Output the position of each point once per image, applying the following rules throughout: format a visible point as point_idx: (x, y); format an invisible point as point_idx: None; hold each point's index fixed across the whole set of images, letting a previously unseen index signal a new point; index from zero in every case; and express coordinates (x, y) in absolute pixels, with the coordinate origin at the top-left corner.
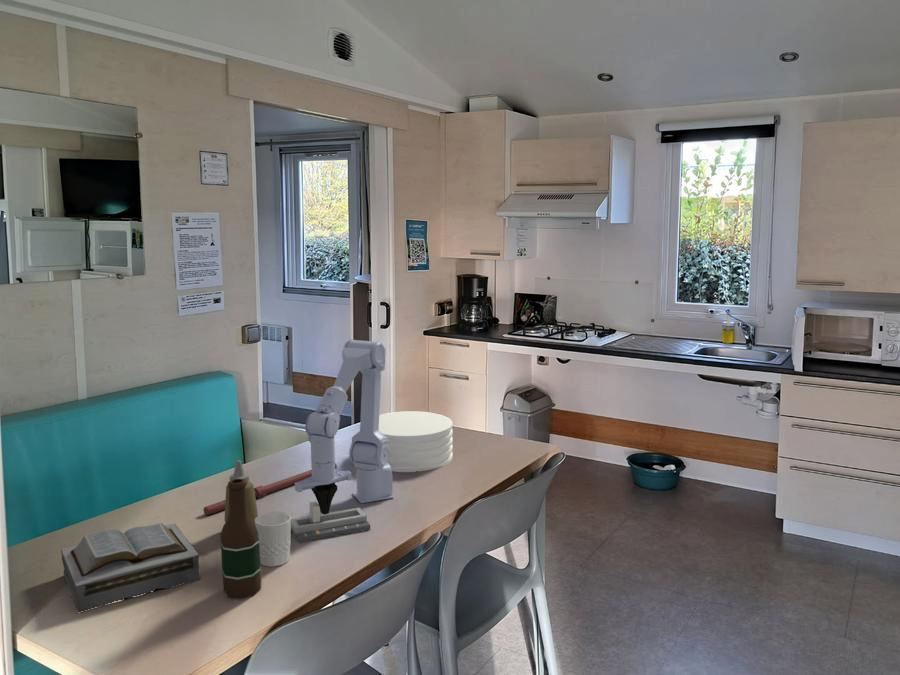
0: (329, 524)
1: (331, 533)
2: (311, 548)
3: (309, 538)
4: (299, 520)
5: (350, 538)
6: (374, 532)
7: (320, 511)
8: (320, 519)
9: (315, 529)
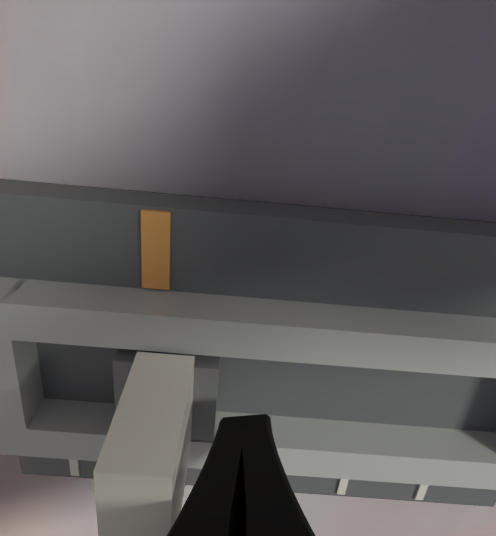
0: None
1: None
2: (95, 518)
3: None
4: (45, 339)
5: (323, 513)
6: (474, 511)
7: (219, 423)
8: (204, 424)
9: None
